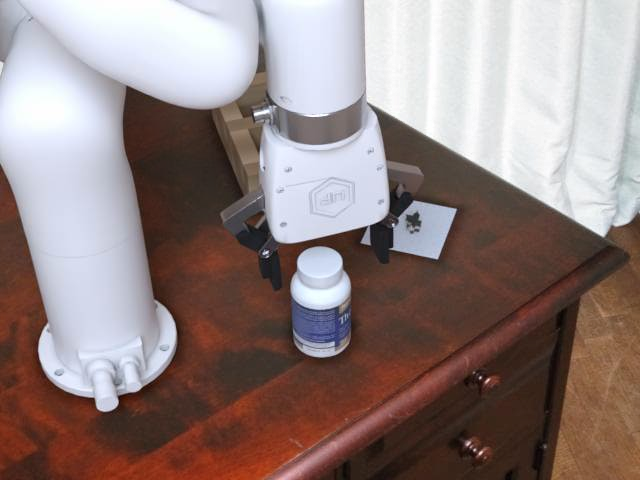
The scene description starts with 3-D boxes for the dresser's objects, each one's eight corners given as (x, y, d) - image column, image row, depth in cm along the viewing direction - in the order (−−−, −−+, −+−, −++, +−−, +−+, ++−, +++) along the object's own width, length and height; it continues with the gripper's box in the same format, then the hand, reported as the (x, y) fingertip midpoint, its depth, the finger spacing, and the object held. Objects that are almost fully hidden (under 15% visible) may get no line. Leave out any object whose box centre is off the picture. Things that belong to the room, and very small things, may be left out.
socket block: (340, 194, 122) (339, 157, 118) (250, 213, 120) (247, 176, 116) (294, 102, 134) (292, 66, 131) (212, 118, 132) (208, 82, 129)
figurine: (399, 217, 119) (399, 203, 117) (425, 222, 118) (426, 208, 117) (392, 231, 117) (393, 217, 116) (419, 237, 116) (419, 223, 115)
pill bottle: (351, 359, 104) (351, 282, 98) (292, 359, 104) (288, 283, 98) (351, 316, 108) (350, 240, 102) (294, 317, 108) (290, 240, 102)
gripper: (220, 158, 84) (241, 320, 96) (440, 110, 88) (435, 271, 99) (198, 103, 90) (221, 262, 101) (406, 58, 93) (405, 218, 105)
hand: (327, 266), depth 100 cm, fingers open, 9 cm apart
